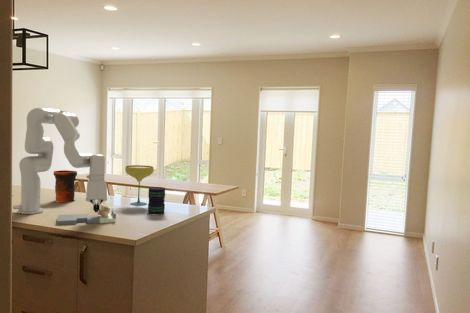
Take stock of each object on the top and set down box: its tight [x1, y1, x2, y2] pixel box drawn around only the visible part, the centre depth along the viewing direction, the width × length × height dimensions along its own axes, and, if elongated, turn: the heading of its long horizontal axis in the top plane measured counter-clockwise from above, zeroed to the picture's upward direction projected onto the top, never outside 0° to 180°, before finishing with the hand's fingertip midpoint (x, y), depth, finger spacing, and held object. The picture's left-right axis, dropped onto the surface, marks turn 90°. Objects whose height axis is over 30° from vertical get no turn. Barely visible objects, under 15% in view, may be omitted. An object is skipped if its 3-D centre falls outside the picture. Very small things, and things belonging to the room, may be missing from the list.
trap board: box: [56, 208, 117, 226], centre depth 200 cm, size 28×14×4 cm, turn 113°
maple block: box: [97, 203, 112, 217], centre depth 202 cm, size 5×5×5 cm
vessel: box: [53, 169, 78, 203], centre depth 250 cm, size 14×14×20 cm
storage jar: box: [147, 186, 166, 215], centre depth 226 cm, size 10×10×15 cm
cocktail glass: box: [125, 164, 154, 207], centre depth 250 cm, size 18×18×25 cm
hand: (96, 211), depth 201 cm, fingers closed
